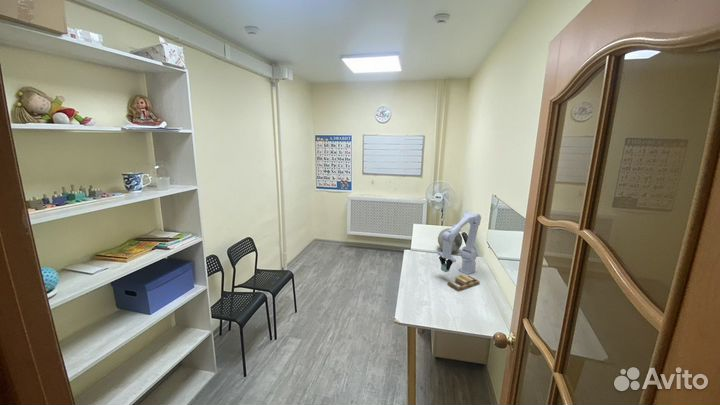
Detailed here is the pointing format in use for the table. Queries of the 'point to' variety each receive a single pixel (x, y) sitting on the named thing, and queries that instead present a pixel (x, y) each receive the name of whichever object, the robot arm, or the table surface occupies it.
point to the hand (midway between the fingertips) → (445, 268)
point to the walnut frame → (462, 285)
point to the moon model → (455, 244)
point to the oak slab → (465, 279)
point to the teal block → (444, 267)
